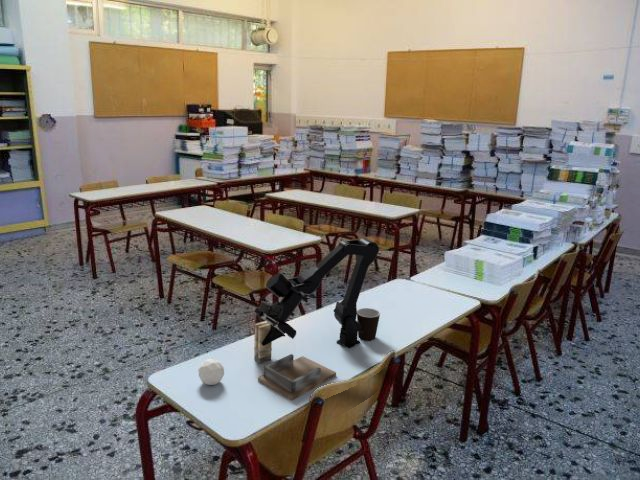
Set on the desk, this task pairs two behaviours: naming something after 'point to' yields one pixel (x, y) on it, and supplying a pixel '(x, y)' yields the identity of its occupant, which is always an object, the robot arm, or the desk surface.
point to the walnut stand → (294, 376)
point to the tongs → (261, 351)
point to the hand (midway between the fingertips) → (259, 342)
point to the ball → (211, 371)
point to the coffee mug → (368, 323)
